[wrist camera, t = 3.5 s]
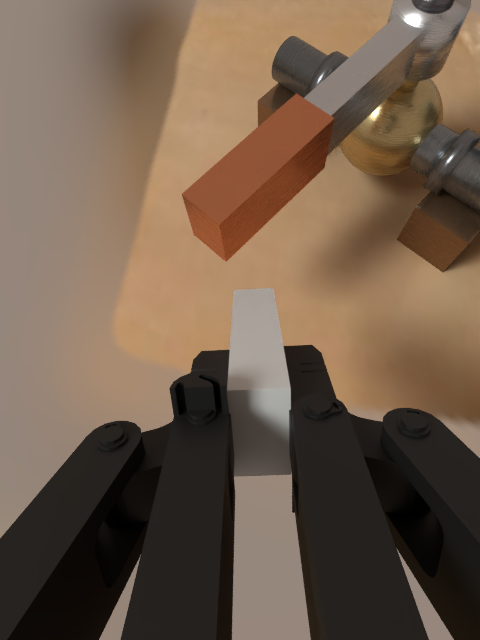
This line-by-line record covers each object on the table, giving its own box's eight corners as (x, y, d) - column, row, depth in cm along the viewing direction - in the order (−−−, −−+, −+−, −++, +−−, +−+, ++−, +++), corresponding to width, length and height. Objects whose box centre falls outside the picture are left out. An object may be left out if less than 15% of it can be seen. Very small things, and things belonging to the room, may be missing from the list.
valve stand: (492, 215, 31) (591, 107, 22) (440, 274, 29) (522, 186, 20) (307, 96, 36) (323, -34, 26) (255, 143, 34) (253, 22, 25)
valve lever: (403, 28, 24) (427, -49, 20) (456, 57, 23) (492, -18, 19) (184, 226, 20) (167, 175, 17) (236, 270, 19) (230, 226, 16)
